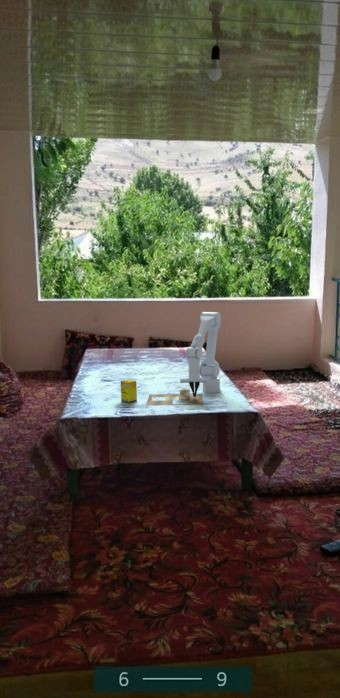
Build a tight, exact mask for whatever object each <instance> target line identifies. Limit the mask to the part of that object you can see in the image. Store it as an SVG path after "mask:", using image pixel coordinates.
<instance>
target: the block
mask: <svg viewBox="0 0 340 698" xmlns="http://www.w3.org/2000/svg"><path fill="white" fill-rule="evenodd" d="M190 391H191V387H179V394H180V400H179V401H189V400H190V394H191V392H190Z"/></svg>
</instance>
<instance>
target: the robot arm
mask: <svg viewBox="0 0 340 698" xmlns="http://www.w3.org/2000/svg"><path fill="white" fill-rule="evenodd" d="M199 317H200V318H199V319H200V325H199V329H198V332H197V334H196V335H194V337H193V340H192V341H191V345H190V346H189V347H188V348H187V349H186V351H185V352H186V353H185V355H186V360H187V363H188V377H186V378H180V379H179V383H180V384H186V383H187V384H188V385H189V388H190V391H191V393H192V394H193V397H196V394H198V393H197V392H198V389H199V387H200V385H201V383H202V392H204V393H221V378H220V377H219V375H220V363H219V362H218V361H217V360H216V358H215V357H216V350H217V340H218V333H219V332H218V331H219V329H220V328H221V323H222V315H221V313H220V312H219V311H217V312H216V311H215V312H214V311H202V312H201V313H200V316H199ZM206 334H207V342H206V349H205V358H204V359H203V360H202V361H201V360H200V359H201V358H202V354H203V347H204V344H205V341H206V339H205V336H206Z"/></svg>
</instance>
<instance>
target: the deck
mask: <svg viewBox="0 0 340 698" xmlns="http://www.w3.org/2000/svg"><path fill="white" fill-rule="evenodd" d="M153 398H165V399H164V400H153ZM203 399H204V398H203V393H196V397H193V393H190V400H188V403H174V401H181V400H180V393H166V394H165V393H164V394H163V393H157V394H155V393H154V394H152V393H151V394H149V395H148V398H147V401H146V404H145V406H203V405H204V400H203Z"/></svg>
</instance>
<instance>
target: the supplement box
mask: <svg viewBox="0 0 340 698" xmlns="http://www.w3.org/2000/svg"><path fill="white" fill-rule="evenodd" d="M137 390H138V389H137V380H134V379H130V378H128V379H123V380H120V399H121V400H120V401H121V402H124V403H127V404H131V403H134V402H135V403H136V402H137V401H138V393H137Z"/></svg>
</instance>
